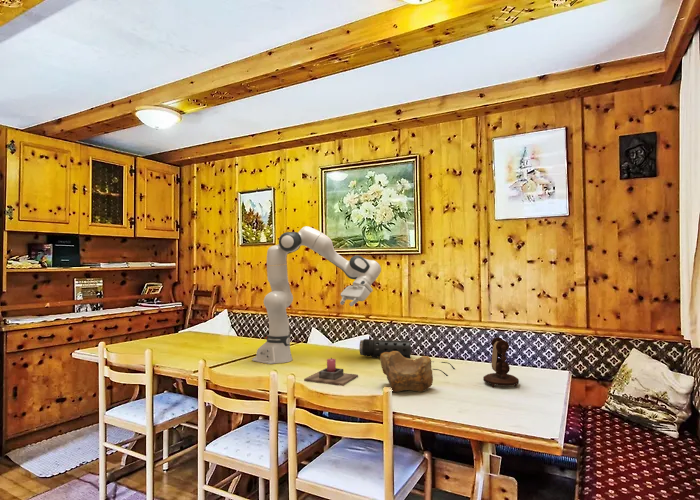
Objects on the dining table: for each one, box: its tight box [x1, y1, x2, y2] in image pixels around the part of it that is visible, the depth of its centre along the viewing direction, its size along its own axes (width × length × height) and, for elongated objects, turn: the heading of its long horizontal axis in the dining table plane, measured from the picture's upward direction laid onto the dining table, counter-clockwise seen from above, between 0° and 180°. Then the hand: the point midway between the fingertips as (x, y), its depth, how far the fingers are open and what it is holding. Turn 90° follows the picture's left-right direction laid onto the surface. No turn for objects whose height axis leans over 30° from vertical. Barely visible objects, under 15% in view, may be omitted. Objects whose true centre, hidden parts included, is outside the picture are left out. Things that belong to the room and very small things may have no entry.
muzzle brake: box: [359, 338, 412, 359], centre depth 247 cm, size 10×28×10 cm, turn 78°
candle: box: [326, 357, 337, 373], centre depth 206 cm, size 4×4×9 cm
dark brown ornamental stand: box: [482, 336, 520, 388], centre depth 194 cm, size 15×15×20 cm
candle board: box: [303, 367, 359, 387], centre depth 206 cm, size 20×16×4 cm
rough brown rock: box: [379, 351, 434, 393], centre depth 187 cm, size 23×17×15 cm
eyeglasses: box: [431, 360, 456, 377], centre depth 219 cm, size 16×19×5 cm
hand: (345, 304), depth 235 cm, fingers open, 8 cm apart
